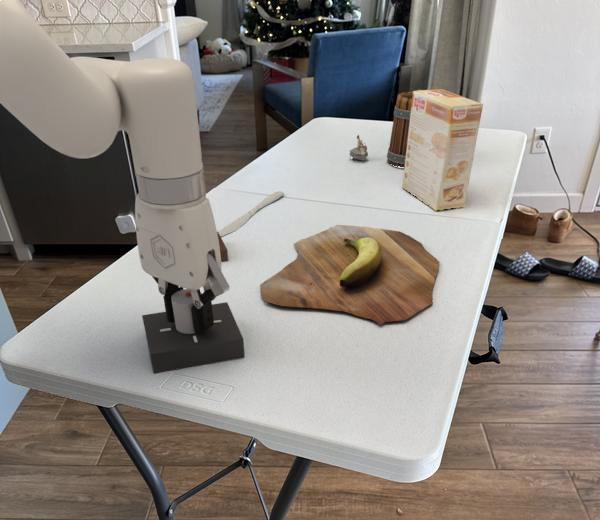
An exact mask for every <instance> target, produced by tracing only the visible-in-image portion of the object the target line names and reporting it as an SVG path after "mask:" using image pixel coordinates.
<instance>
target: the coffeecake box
mask: <svg viewBox="0 0 600 520" xmlns="http://www.w3.org/2000/svg"><path fill="white" fill-rule="evenodd" d="M420 90H421V91H417V90H413V91H412V92H413V96H412V106H411V114H410V123H409V132H408V141H407V150H406V159H405V167H404V169H403V175H402V176H403V177H402V186H401V188H402V189H403V188H404V189H405V190H404V189H403V190H404V191H406V190H407V191H406V192H407V193H409V192H410V193H411V194H410V193H409V194H410V195H411V196H413V195H414V196H413V197H415V196H416V197H417V198H416V197H415V198H416V199H418V200H420V201H421V202H422V201H423V202H422V203H423V204H425V205H426V206H428V205H429V206H428V207H429V208H431V209H432V210H436V211H435V212H438V211H437V210H440V211H445V210H444V209H448V210H452V209H451V208H456V209H460V208H459V207H463V208H465V206H466V200H467V194H468V189H469V184H470V178H471V173H472V168H473V161H474V157H475V151H476V145H477V140H478V134H479V129H480V123H481V118H482V113H483V107H484V104H483V103H481V102H479V101H476V100H473V99H470V98H467V97H465V96H462V95H459V94H457V93H454V92H451V91H448V90H446V89H442V88H436V89H435V88H433V89H431V88H430V89H420Z"/></svg>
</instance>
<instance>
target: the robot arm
mask: <svg viewBox="0 0 600 520" xmlns="http://www.w3.org/2000/svg"><path fill="white" fill-rule="evenodd" d="M0 105H1V106H3V107H4V108H5V109H6V110H7V111H8V112H9V113H10V114H11V115H12V116H14V117H15V118H16V119H17V120H18V121H19V122H20V123H21V124H22V125H23V126H24V127H25V128H26V129H28V130H29V131H30V132H31V133H32V134H33V135H35V136H36V137H37V138H38V139H39V140H40V141H41V142H43V143H44V144H46V145H47V146H48V147H50V148H52V149H53V150H55V151H56V152H58V153H60V154H62V155H64V156H67V157H69V158H73V159H92V158H95V157H98V156H100V155H102V154H103V153H104V152H106V151H107V150H108V149H109V148H110V147H111V146H112V144H113V143H114V140H115V138H116V136H117V135H118V132H120V131H123V132H126V133H127V135H128V140H129V141H128V142H129V147H130V152H131V157H132V164H133V168H134V169H133V170H134V176H135V180H136V186H137V194H136V195H135V201H134V220H135V221H134V222H135V233H136V242H137V243H136V244H137V250H138V256H139V261H140V266H141V268H142V270H143V271H144V272H145V274H147V275H149V276H151V277H152V278H153V279H154V281H155V283H156V284H157V286H158V287H157V288H158V289H157V290H158V292H159V293H160V294H161V295H162V297H163V302H164V309H165V312H166V316H167V321H168V322H170V323H173V322H175V319H174V312H173V306H172V300H171V297H172V295H173V294H174V293H175V292H177V291H180V290H184V289H189V290H190V292H191V295H192V299H193V302H194V306H192V307H191V312H192V320H193V327H194V332H195V333H197V334H200V333H202V332H204V331H205V330H207V329H208V328H210V327H211V326H212V325H213V324H214V320H213V311H212V304H213V303H212V302H213V301H215V300H216V298H217V297H218V296H221V295H223V294H225V293H226V292H228V291H229V290H230V285H229V283H228V281H227V279H226V277H225V276H224V274H223V271H222V262H221V255H220V247H219V240H218V235H217V232H218V231H217V230H218V229H217V225H216V220H215V217H214V212H213V210H212V205H211V202H210V200H209V198H207V192H206V183H205V182H206V181H205V172H204V164H203V163H204V162H203V155H202V147H201V137H200V128H199V127H200V126H199V117H198V107H197V97H196V87H195V80H194V75H193V72H192V70H191V68H190V66H189V65H188V64H186V63H185V62H184V61H181V60H179V59H176V58H175V59H174V58H164V57H154V58H153V57H152V58H151V57H150V58H142V59H141V58H140V59H136V60H132V61H127V60H116V59H106V58H99V57H93V56H75V57H74V56H73V57H70V56H69V55H68V54H66V53H65V51H64V50H63V49H62V48H61V47H60V46H59V45H58V44H57V42H55V41H54V40H53V39H52V37H51V36H49V34H48V33H47V32H46V31H45V30H44V29H43V27H42V26H41V25H40V24H39V22H37V21H36V20H35V18H34V17H33V16H32V14H31V13H30V12H29V11H28V10H27V8H26V7H25V6H24V4H23V3H22V1H21V0H0ZM201 288H203V292H201V290H200V289H201ZM201 293H202V294H201Z"/></svg>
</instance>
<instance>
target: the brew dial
mask: <svg viewBox="0 0 600 520" xmlns="http://www.w3.org/2000/svg"><path fill="white" fill-rule="evenodd" d="M183 289H184V290H180V291H177V292H175V293H174V294H173V295H172V297H171V300H172V306H173V312H174V319H175V325H176V329H177V330H178V331H179V332H181V333H185V334H193V333H195V332H194V327H193V320H192V312H191V307H192V306H194V302H193V299H192V295H191V292H190V290H189V289H186V288H183ZM201 294H203V292H201Z"/></svg>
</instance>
